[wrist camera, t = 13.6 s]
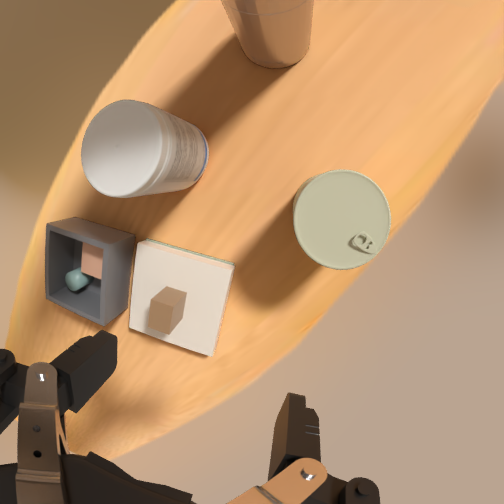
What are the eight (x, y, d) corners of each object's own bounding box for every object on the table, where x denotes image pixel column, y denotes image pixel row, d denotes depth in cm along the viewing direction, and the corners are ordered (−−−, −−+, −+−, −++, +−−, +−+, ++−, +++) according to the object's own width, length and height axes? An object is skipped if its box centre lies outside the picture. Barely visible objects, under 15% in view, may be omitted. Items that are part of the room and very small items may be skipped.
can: (330, 260, 38) (345, 292, 27) (277, 212, 38) (270, 224, 26) (377, 208, 36) (412, 219, 25) (325, 158, 36) (340, 146, 24)
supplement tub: (185, 108, 37) (131, 76, 22) (225, 161, 38) (186, 150, 23) (133, 153, 39) (65, 145, 25) (169, 206, 40) (109, 219, 26)
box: (75, 217, 42) (46, 223, 35) (135, 234, 41) (109, 244, 35) (71, 284, 45) (45, 298, 38) (127, 307, 44) (104, 326, 38)
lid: (144, 239, 41) (118, 251, 34) (235, 265, 40) (223, 283, 33) (135, 321, 44) (112, 342, 37) (215, 349, 43) (202, 376, 36)
